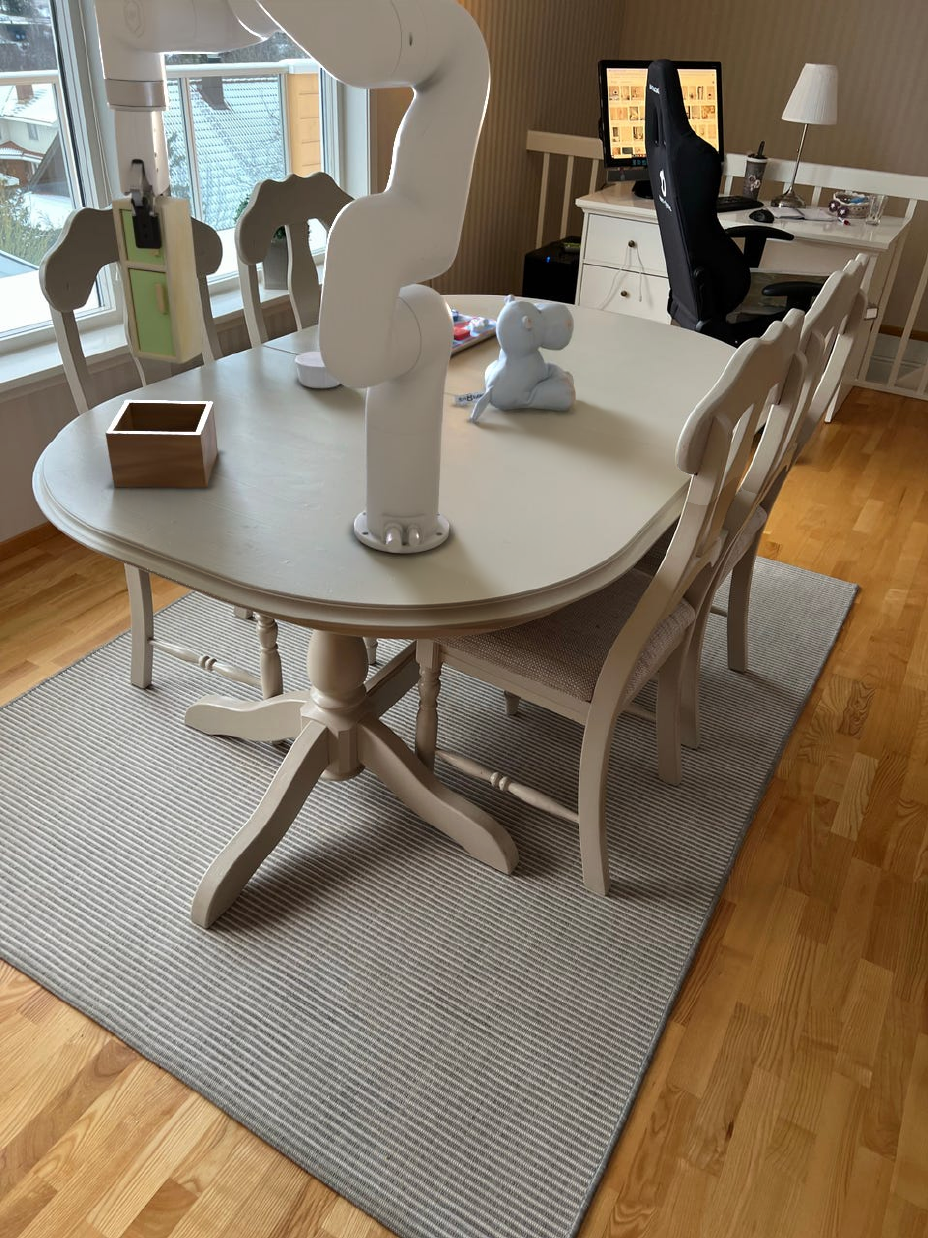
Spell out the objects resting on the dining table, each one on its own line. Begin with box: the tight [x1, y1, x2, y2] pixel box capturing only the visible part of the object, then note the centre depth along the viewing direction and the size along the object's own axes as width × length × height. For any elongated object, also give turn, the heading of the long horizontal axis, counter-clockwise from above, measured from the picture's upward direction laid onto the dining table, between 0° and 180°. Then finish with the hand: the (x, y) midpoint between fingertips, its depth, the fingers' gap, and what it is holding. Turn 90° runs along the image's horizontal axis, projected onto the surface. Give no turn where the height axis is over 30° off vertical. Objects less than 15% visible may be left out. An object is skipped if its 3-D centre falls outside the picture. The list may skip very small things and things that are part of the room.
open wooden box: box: [105, 399, 219, 489], centre depth 135 cm, size 13×13×8 cm
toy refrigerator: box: [111, 194, 205, 365], centre depth 130 cm, size 8×7×21 cm
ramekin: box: [294, 350, 340, 389], centre depth 170 cm, size 9×9×4 cm
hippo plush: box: [454, 294, 577, 422], centre depth 164 cm, size 18×23×18 cm
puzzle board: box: [450, 309, 497, 356], centre depth 198 cm, size 30×23×3 cm
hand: (155, 240), depth 128 cm, fingers closed on toy refrigerator, 8 cm apart
